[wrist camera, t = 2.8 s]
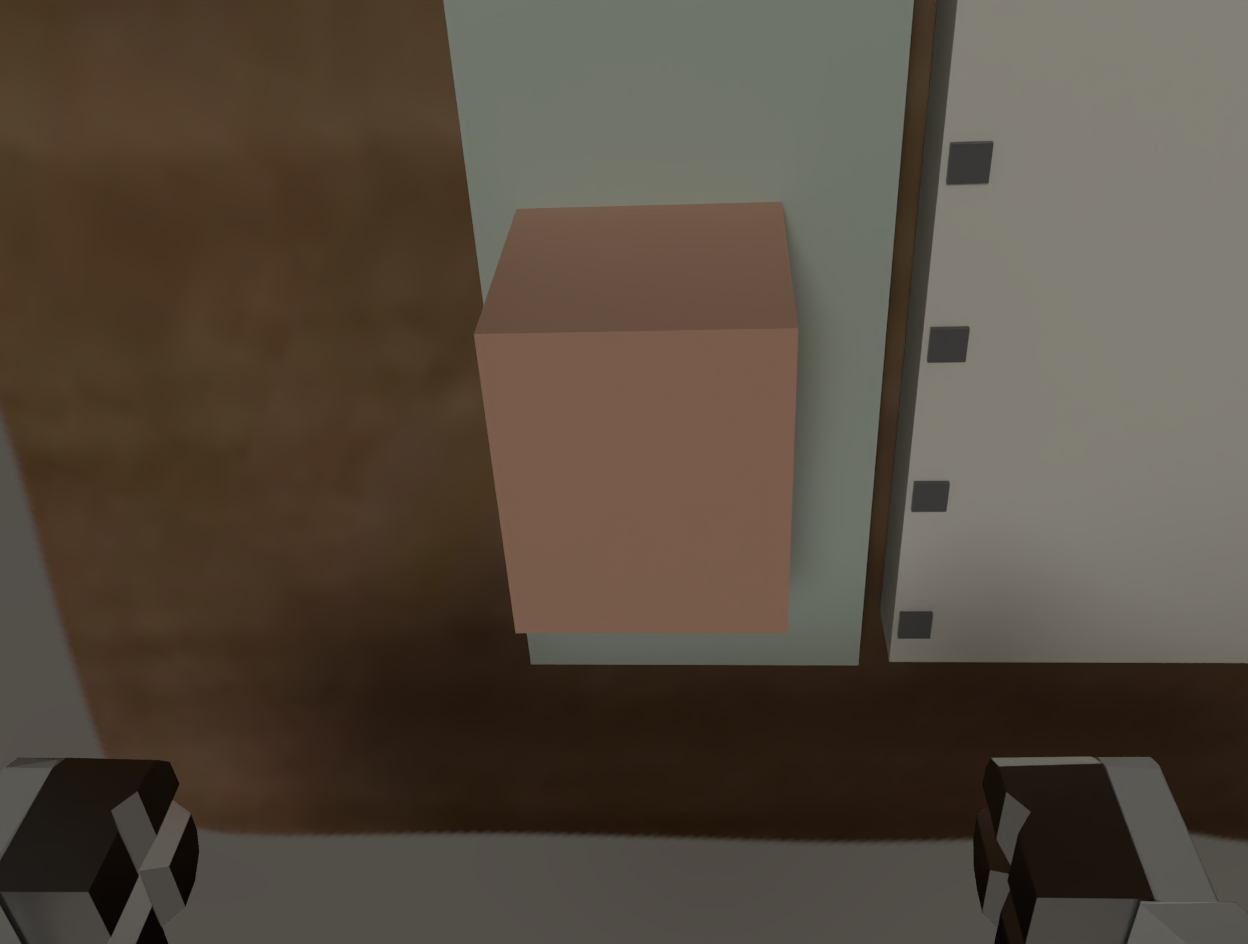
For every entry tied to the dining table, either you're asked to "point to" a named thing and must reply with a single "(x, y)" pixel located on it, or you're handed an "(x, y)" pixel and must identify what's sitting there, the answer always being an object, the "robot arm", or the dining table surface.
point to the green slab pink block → (683, 314)
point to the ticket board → (1077, 340)
